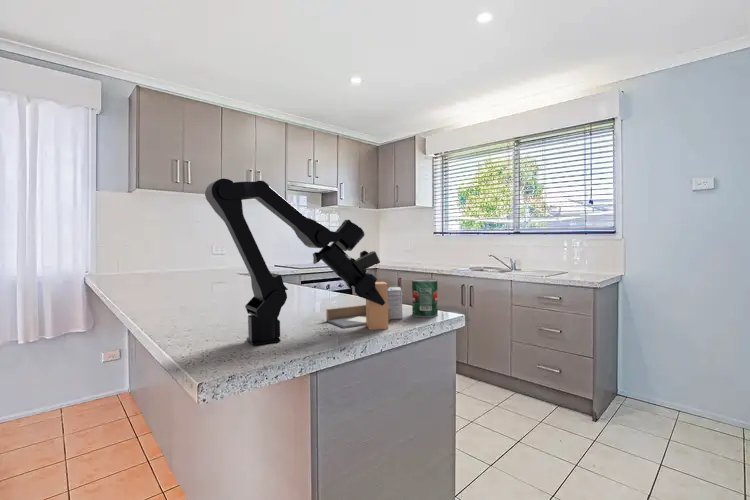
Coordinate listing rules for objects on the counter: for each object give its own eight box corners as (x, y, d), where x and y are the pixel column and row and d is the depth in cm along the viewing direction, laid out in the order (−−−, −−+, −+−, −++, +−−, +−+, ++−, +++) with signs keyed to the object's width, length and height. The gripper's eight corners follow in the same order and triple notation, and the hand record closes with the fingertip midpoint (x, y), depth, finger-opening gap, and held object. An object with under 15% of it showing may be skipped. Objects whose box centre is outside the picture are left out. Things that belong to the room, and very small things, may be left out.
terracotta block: (369, 329, 106) (369, 284, 105) (366, 325, 111) (365, 282, 110) (388, 328, 107) (387, 283, 106) (383, 324, 112) (383, 281, 111)
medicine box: (402, 319, 119) (402, 290, 118) (387, 319, 119) (387, 290, 118) (401, 314, 127) (401, 286, 126) (387, 314, 127) (386, 286, 126)
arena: (343, 328, 108) (343, 315, 108) (326, 321, 117) (326, 309, 117) (390, 321, 116) (390, 309, 116) (370, 315, 125) (370, 304, 125)
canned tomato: (407, 314, 127) (407, 279, 126) (429, 311, 130) (429, 277, 129) (420, 318, 119) (419, 281, 119) (442, 316, 122) (442, 280, 122)
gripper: (367, 241, 98) (411, 284, 101) (355, 240, 116) (393, 277, 119) (336, 274, 97) (381, 317, 99) (329, 268, 115) (367, 305, 118)
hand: (381, 302), depth 109 cm, fingers closed on terracotta block, 5 cm apart
